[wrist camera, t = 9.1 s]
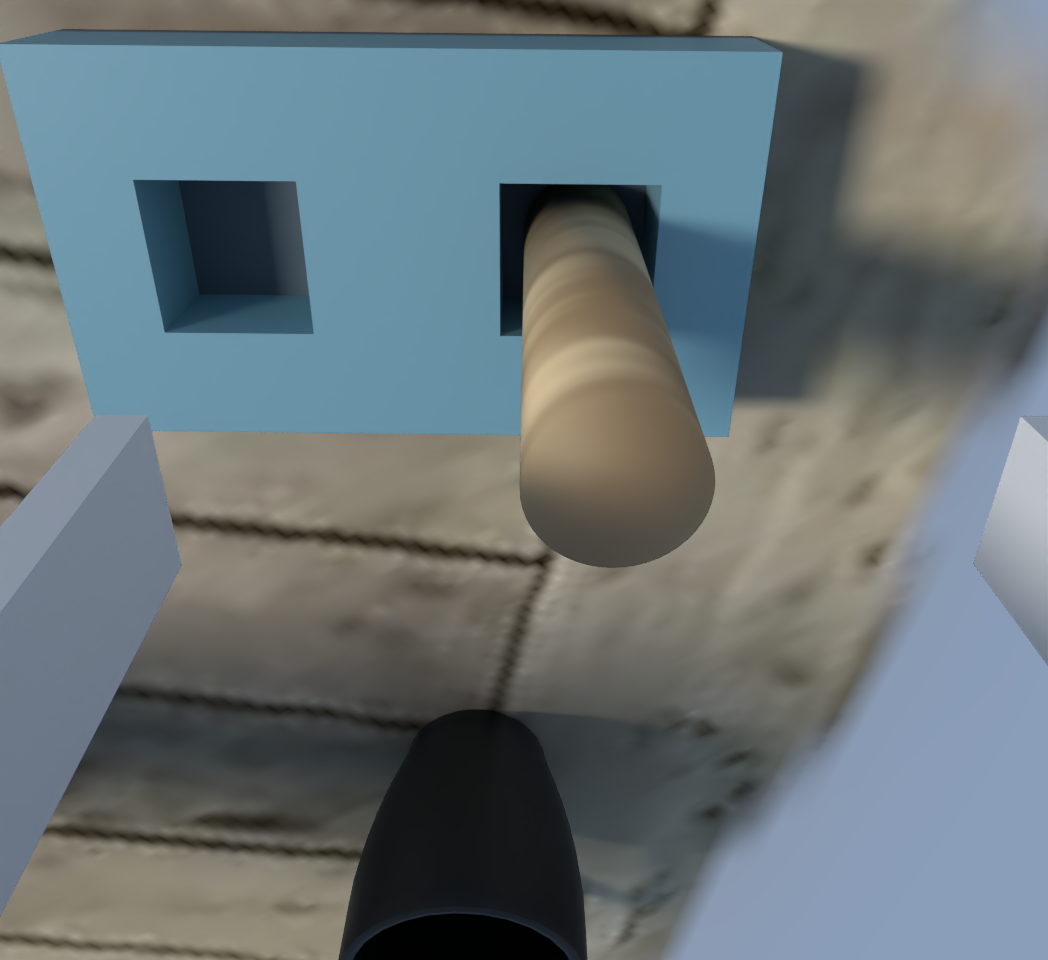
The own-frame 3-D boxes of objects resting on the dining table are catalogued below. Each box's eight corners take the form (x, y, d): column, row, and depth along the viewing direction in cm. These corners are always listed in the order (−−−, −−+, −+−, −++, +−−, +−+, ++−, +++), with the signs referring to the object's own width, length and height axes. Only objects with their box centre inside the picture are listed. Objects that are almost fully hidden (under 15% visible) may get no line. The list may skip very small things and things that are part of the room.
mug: (359, 863, 42) (318, 1091, 33) (390, 670, 36) (348, 891, 27) (536, 885, 42) (537, 1114, 34) (596, 700, 36) (615, 924, 28)
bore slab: (141, 378, 29) (97, 430, 26) (62, 29, 24) (-5, 43, 21) (707, 384, 29) (728, 436, 26) (751, 36, 24) (783, 52, 21)
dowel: (522, 279, 27) (517, 565, 15) (525, 174, 25) (521, 399, 13) (625, 282, 27) (702, 569, 15) (633, 177, 25) (728, 403, 13)
